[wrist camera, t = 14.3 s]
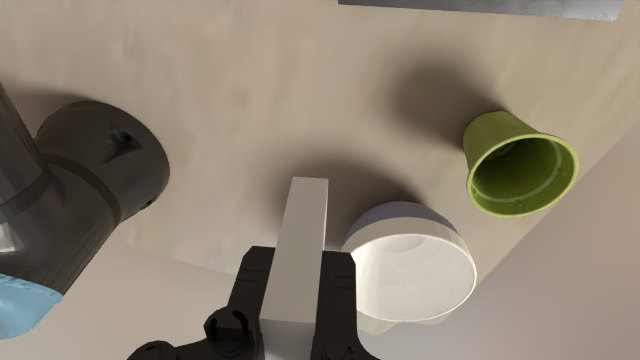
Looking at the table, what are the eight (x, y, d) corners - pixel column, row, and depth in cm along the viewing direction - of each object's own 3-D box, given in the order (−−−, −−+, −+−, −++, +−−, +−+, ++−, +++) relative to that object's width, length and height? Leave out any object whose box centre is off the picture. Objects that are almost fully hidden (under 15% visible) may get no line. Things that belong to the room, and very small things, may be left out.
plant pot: (493, 77, 35) (527, 114, 28) (556, 124, 38) (602, 168, 31) (429, 144, 40) (445, 189, 33) (489, 181, 43) (515, 231, 36)
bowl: (316, 213, 48) (308, 268, 40) (420, 158, 41) (435, 210, 34) (378, 277, 55) (382, 334, 47) (476, 238, 48) (499, 297, 40)
